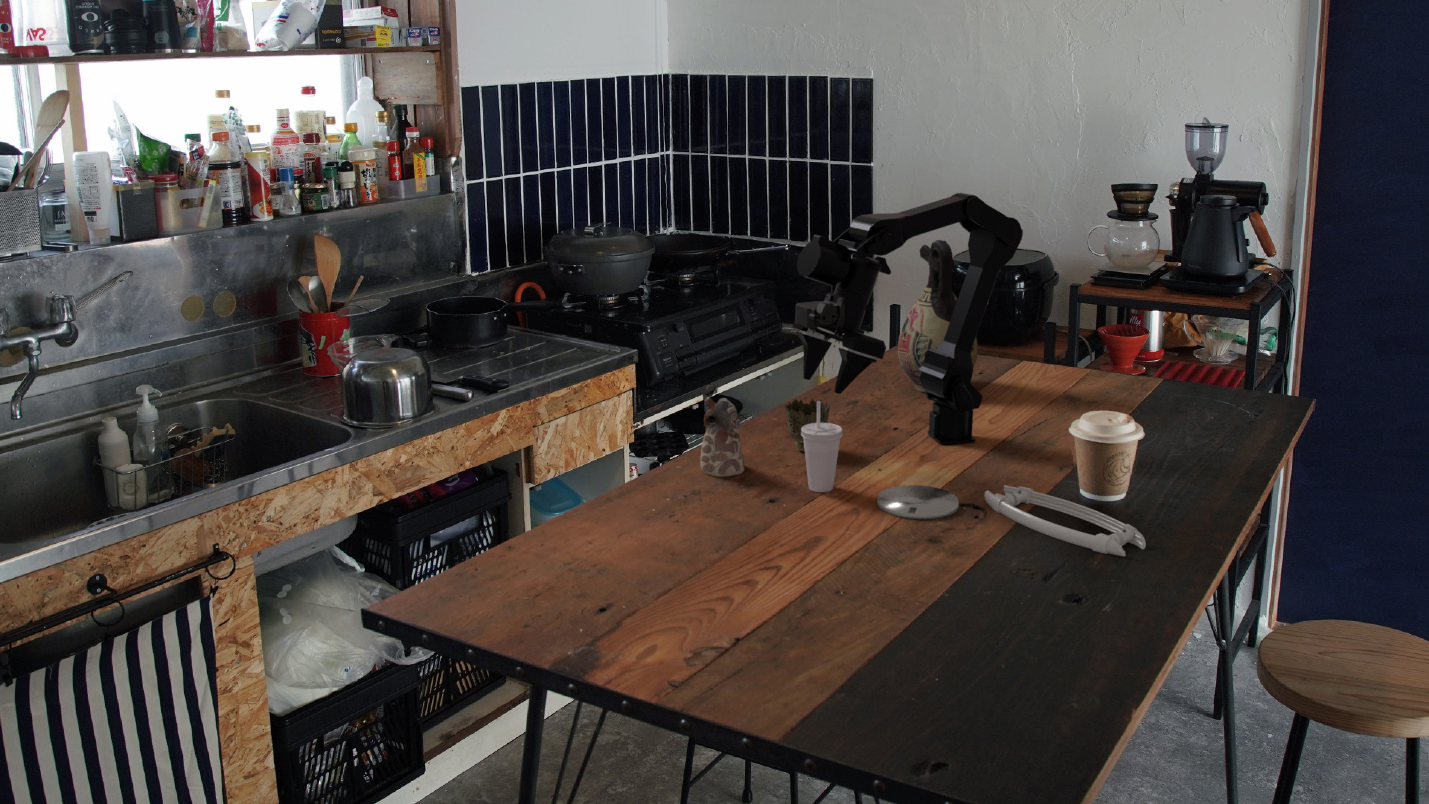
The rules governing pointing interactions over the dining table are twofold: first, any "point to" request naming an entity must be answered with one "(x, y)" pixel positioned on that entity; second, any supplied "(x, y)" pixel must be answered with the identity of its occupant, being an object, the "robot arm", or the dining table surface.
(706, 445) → the figurine
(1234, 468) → the dining table surface
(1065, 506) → the door handle
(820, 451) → the smoothie
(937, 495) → the pad
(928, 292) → the ceramic jug
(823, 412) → the cup
